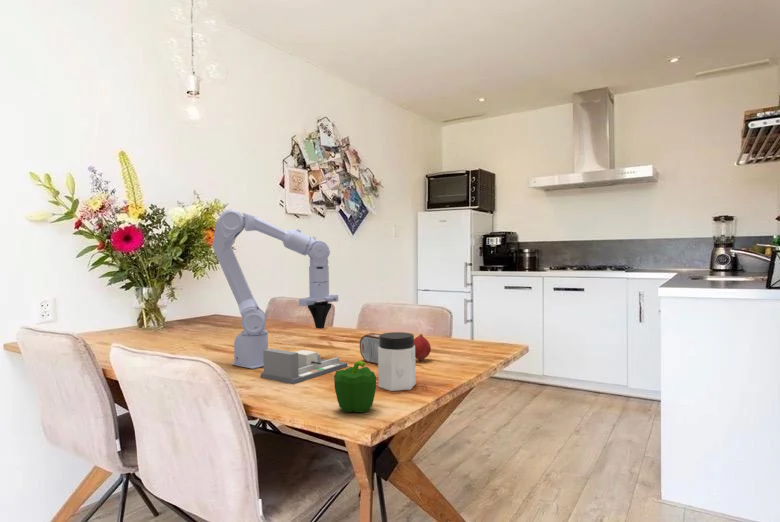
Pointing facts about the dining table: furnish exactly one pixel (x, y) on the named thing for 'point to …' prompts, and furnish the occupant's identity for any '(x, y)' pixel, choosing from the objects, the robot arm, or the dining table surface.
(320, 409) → the dining table surface
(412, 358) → the jar
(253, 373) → the dining table surface
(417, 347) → the onion
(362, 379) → the bell pepper
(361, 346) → the tin
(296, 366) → the gauge rail
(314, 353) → the slider
